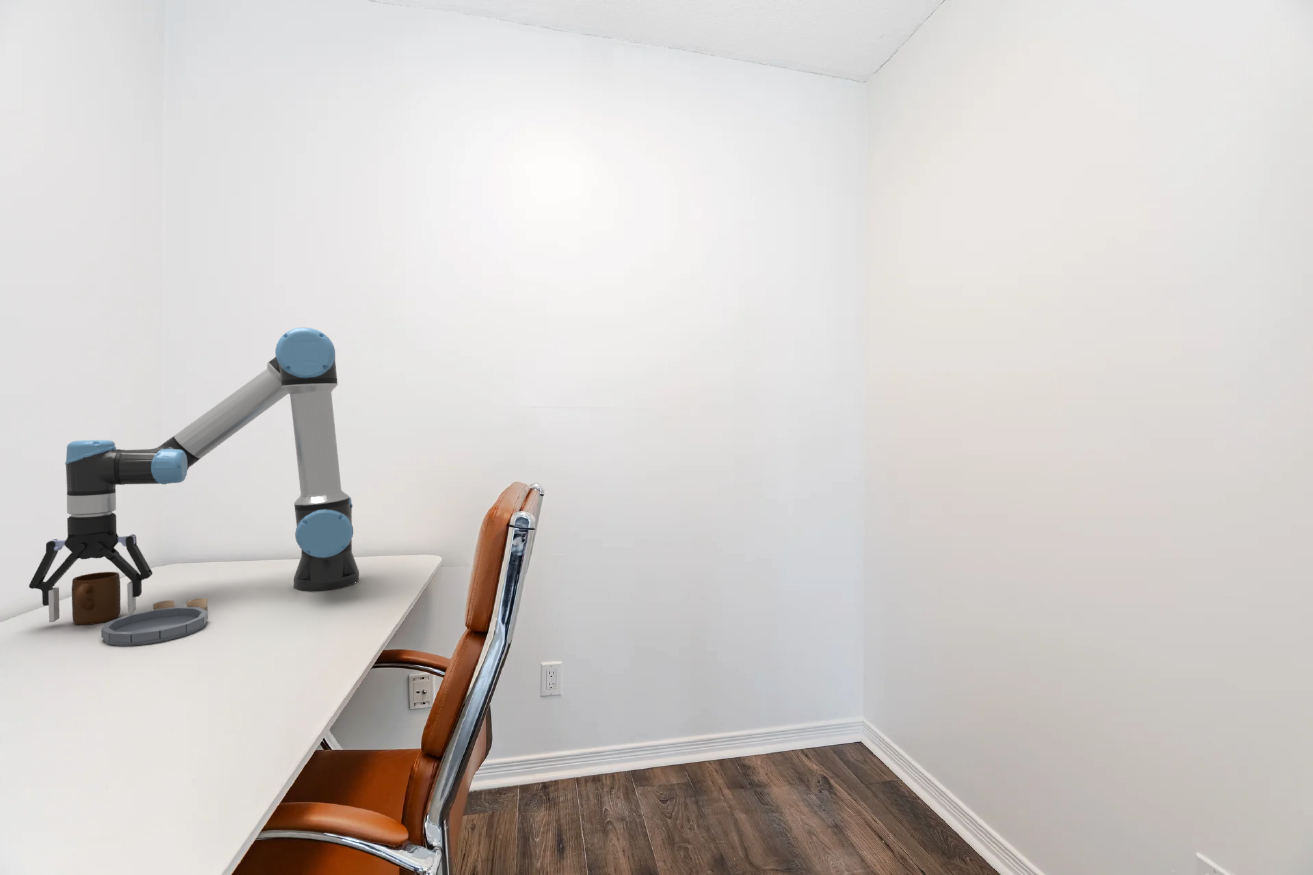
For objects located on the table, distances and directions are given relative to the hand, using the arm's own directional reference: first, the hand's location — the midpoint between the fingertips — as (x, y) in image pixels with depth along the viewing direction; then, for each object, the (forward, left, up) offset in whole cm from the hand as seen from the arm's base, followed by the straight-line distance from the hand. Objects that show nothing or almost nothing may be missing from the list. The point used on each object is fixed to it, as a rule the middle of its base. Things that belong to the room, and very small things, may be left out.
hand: (94, 616), depth 128 cm
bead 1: (-12, +2, -1) cm, 12 cm away
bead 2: (-18, +2, -1) cm, 18 cm away
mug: (0, 0, -2) cm, 2 cm away
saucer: (-13, +12, -1) cm, 18 cm away
